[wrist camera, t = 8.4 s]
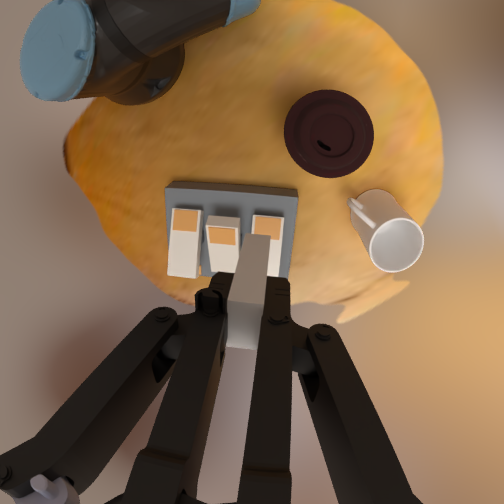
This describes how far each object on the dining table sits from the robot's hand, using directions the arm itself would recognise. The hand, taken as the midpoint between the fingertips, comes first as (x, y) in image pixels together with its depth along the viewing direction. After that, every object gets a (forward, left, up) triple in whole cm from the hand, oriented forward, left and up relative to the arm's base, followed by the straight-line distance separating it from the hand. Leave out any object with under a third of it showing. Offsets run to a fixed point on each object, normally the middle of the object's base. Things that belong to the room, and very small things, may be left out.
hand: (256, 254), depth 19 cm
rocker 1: (+12, -12, -23) cm, 29 cm away
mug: (+6, +16, -30) cm, 35 cm away
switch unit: (+12, -6, -30) cm, 33 cm away
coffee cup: (-6, +6, -30) cm, 32 cm away
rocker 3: (+12, 0, -23) cm, 26 cm away
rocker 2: (+12, -6, -24) cm, 27 cm away
